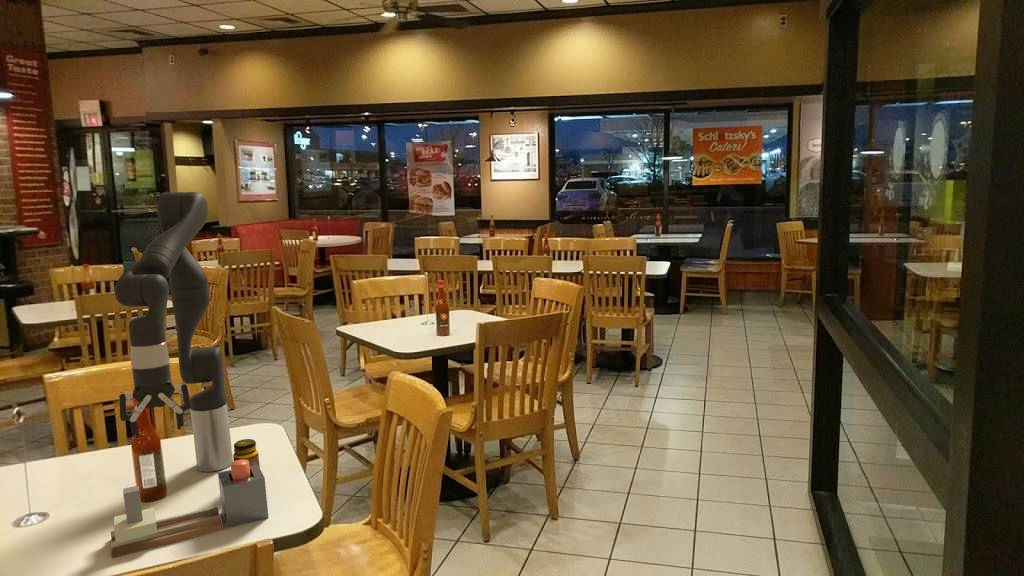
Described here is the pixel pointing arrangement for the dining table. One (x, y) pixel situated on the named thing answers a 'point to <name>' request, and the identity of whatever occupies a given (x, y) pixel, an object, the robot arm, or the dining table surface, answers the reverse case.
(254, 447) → the condiment
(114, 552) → the rail track
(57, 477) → the dining table surface
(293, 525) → the dining table surface
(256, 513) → the cabinet
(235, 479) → the plunger
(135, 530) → the carriage
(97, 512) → the dining table surface
